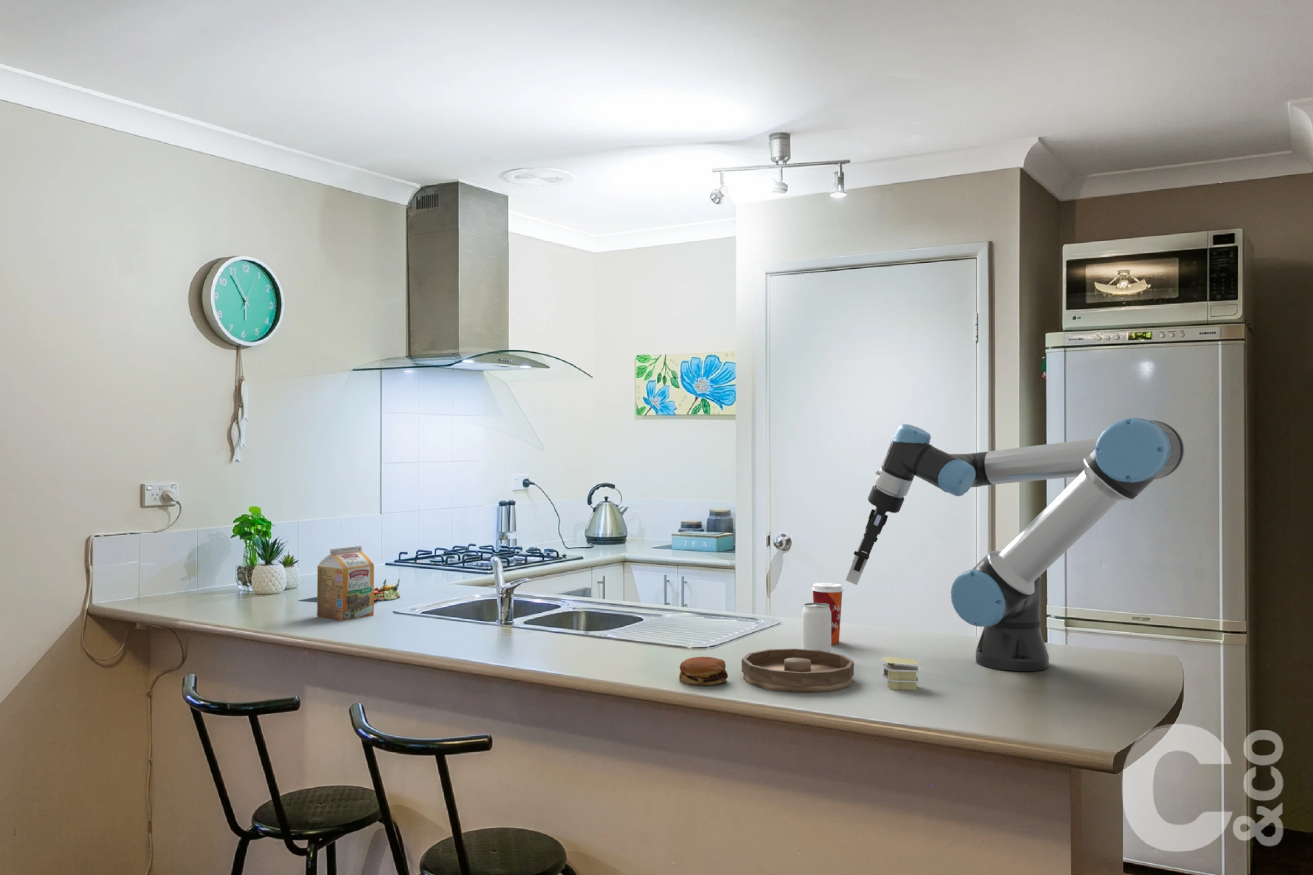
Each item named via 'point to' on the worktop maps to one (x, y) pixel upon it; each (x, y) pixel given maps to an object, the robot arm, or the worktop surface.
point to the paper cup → (830, 604)
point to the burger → (703, 671)
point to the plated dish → (376, 593)
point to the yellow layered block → (900, 673)
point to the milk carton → (345, 585)
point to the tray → (798, 670)
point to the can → (816, 627)
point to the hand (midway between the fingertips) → (854, 573)
